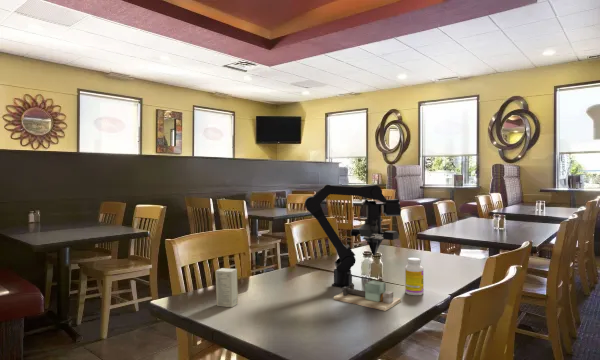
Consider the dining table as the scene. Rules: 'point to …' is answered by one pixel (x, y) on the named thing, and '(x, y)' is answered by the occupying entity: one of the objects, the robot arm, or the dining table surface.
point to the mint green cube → (374, 290)
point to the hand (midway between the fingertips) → (374, 255)
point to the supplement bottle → (414, 277)
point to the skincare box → (226, 287)
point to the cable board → (359, 299)
